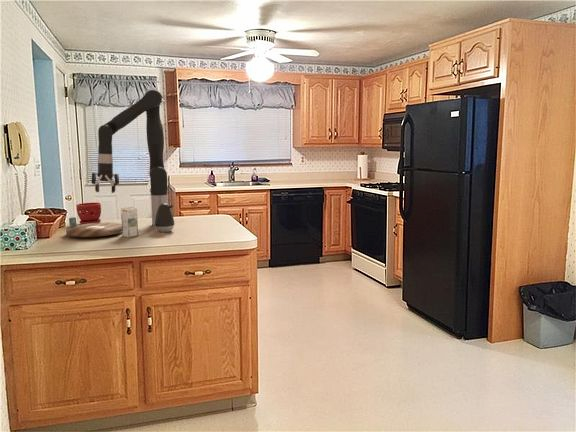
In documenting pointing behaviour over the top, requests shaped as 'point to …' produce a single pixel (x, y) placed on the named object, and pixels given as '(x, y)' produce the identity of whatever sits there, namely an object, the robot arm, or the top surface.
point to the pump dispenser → (164, 218)
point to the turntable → (92, 229)
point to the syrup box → (129, 222)
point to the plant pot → (89, 212)
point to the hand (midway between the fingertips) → (105, 192)
